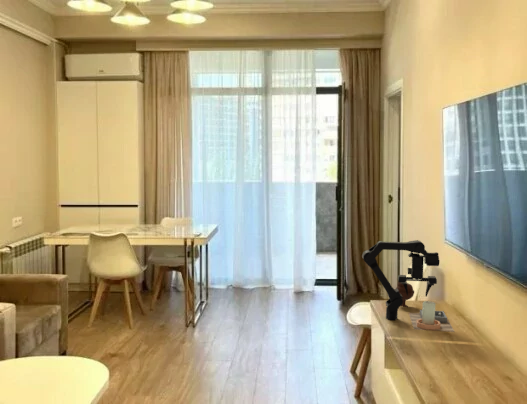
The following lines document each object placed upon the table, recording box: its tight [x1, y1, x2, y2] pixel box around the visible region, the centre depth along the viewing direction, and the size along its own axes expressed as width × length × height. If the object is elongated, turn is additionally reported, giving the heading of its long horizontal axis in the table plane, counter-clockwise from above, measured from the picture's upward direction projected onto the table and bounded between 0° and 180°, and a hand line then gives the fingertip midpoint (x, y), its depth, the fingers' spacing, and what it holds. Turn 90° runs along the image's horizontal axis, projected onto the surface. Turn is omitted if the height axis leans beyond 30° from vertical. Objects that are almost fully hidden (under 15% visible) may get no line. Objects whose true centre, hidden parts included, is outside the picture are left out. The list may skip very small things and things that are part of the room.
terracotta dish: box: [416, 319, 441, 331], centre depth 291 cm, size 11×11×2 cm
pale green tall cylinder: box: [421, 300, 436, 325], centre depth 291 cm, size 6×6×12 cm
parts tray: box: [419, 309, 448, 323], centre depth 304 cm, size 12×12×3 cm
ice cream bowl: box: [395, 281, 415, 308], centre depth 328 cm, size 11×11×15 cm
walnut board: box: [408, 312, 456, 333], centre depth 298 cm, size 29×19×1 cm, turn 171°
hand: (416, 296), depth 301 cm, fingers open, 9 cm apart
